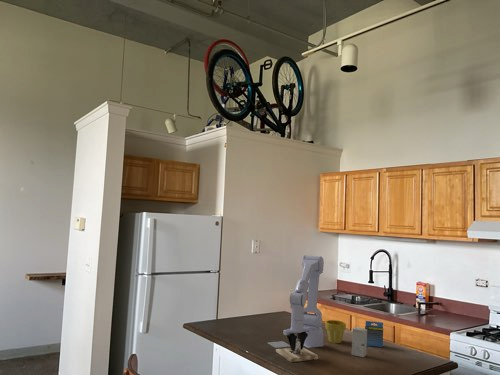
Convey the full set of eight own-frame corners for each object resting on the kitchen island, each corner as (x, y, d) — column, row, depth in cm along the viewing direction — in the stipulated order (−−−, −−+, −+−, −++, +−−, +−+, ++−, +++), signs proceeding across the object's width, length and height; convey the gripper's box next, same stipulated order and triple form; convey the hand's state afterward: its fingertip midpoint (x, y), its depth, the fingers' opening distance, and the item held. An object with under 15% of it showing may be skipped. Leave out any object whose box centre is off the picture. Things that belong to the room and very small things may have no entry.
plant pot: (345, 345, 210) (346, 325, 211) (324, 343, 213) (325, 323, 213) (345, 339, 221) (345, 320, 221) (325, 338, 223) (325, 319, 224)
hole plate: (301, 349, 199) (301, 346, 199) (318, 358, 186) (318, 355, 187) (275, 352, 194) (275, 349, 194) (290, 362, 181) (290, 358, 181)
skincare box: (351, 355, 194) (351, 328, 195) (353, 352, 198) (354, 326, 199) (364, 357, 191) (364, 330, 192) (367, 355, 195) (367, 328, 196)
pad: (282, 342, 211) (282, 341, 211) (291, 347, 203) (291, 346, 203) (266, 343, 208) (266, 342, 208) (275, 348, 200) (275, 347, 200)
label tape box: (382, 345, 212) (383, 320, 214) (383, 347, 209) (383, 322, 210) (364, 343, 215) (365, 319, 216) (364, 345, 211) (365, 320, 212)
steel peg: (296, 351, 193) (296, 338, 194) (302, 354, 190) (302, 340, 190) (290, 353, 191) (290, 339, 192) (295, 355, 188) (295, 341, 188)
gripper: (304, 316, 199) (303, 345, 198) (279, 318, 191) (278, 349, 190) (313, 319, 193) (313, 349, 192) (289, 322, 185) (288, 353, 184)
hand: (296, 349), depth 190 cm, fingers closed on steel peg, 4 cm apart
